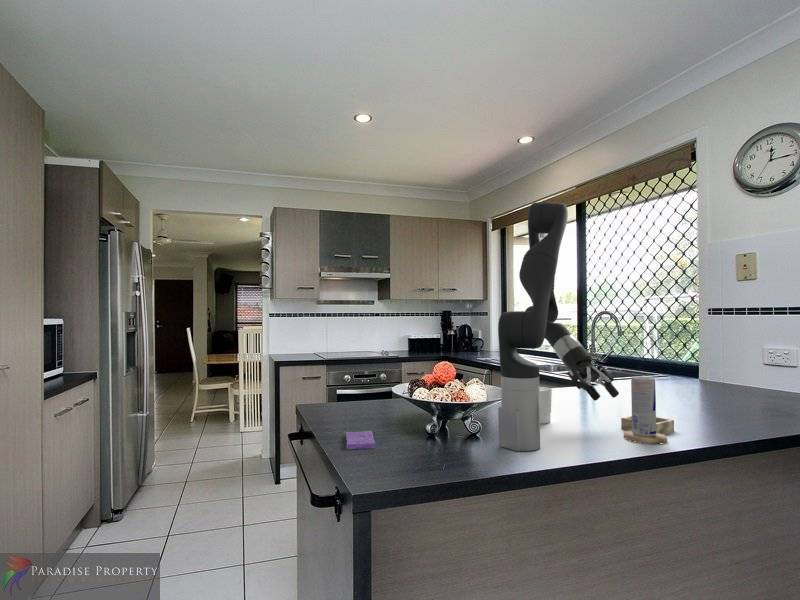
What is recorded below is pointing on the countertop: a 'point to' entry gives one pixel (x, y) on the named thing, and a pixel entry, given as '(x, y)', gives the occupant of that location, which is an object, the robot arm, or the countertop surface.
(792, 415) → the countertop surface
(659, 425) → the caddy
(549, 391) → the white cup
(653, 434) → the beverage can
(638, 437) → the disc
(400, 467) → the countertop surface
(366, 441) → the sponges
